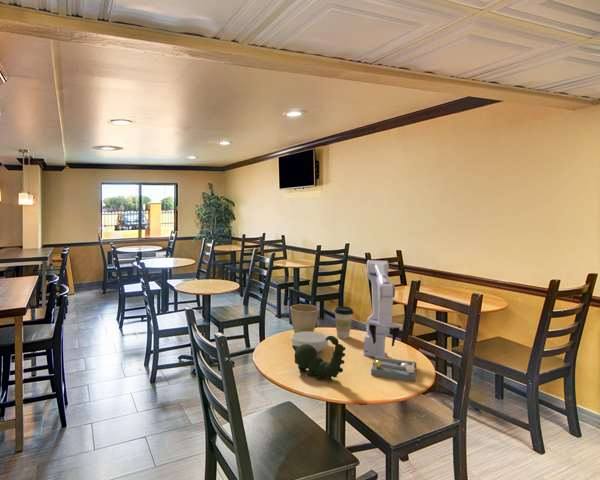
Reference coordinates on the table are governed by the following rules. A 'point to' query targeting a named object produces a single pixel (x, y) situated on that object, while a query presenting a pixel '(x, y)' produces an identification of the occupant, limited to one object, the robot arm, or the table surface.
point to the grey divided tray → (393, 369)
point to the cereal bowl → (310, 339)
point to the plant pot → (304, 317)
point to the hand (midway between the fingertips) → (383, 344)
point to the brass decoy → (378, 364)
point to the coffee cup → (343, 321)
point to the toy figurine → (319, 360)
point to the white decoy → (410, 369)
